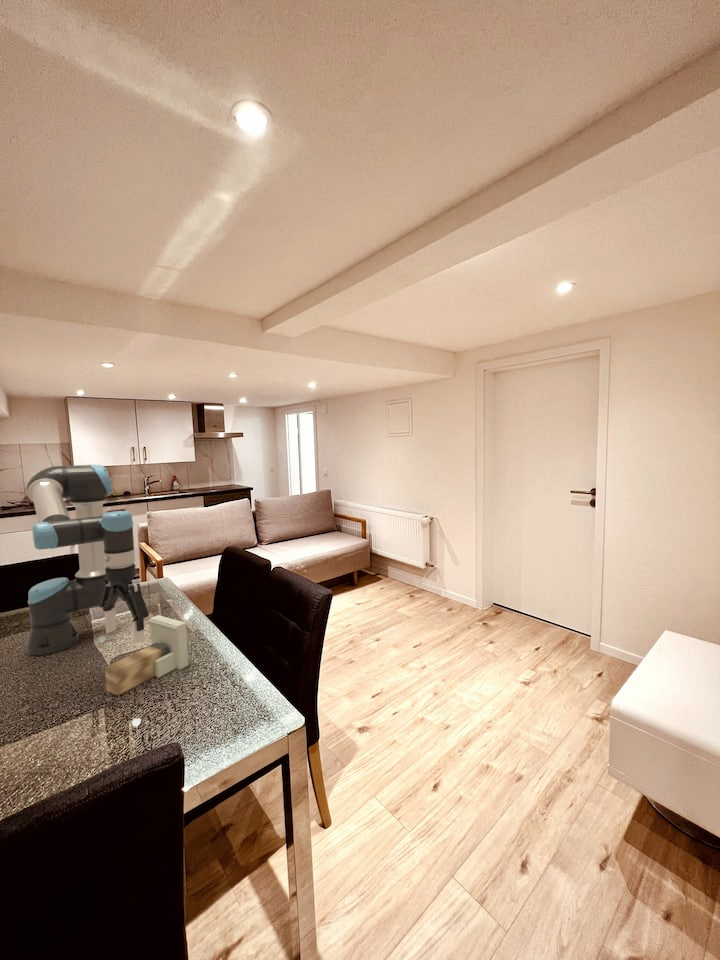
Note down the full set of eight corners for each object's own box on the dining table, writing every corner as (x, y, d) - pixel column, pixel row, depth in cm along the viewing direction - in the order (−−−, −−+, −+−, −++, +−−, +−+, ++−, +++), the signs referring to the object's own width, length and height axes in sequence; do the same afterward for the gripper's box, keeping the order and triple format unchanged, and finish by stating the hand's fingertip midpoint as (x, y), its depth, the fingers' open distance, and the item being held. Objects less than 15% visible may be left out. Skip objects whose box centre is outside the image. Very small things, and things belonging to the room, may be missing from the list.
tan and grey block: (118, 695, 113) (116, 671, 113) (106, 690, 116) (104, 666, 116) (168, 668, 127) (167, 646, 127) (157, 664, 130) (156, 642, 130)
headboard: (134, 668, 128) (131, 625, 127) (160, 655, 136) (158, 615, 135) (162, 679, 121) (160, 634, 120) (188, 665, 129) (185, 622, 128)
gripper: (82, 563, 119) (87, 632, 121) (133, 574, 107) (138, 651, 109) (108, 556, 126) (113, 622, 127) (159, 567, 114) (163, 639, 115)
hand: (125, 636), depth 118 cm, fingers open, 13 cm apart
